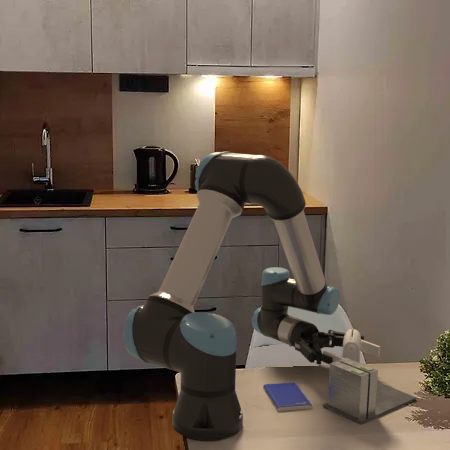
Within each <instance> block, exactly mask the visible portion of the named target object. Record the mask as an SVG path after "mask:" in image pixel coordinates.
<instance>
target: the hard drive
mask: <svg viewBox="0 0 450 450" xmlns="http://www.w3.org/2000/svg"><path fill="white" fill-rule="evenodd" d="M262 387H263V390H264V391H265V394H266V395H267V396H268V399H270V401H271V403H272V405H273V406H274V408H275V410H276V411H278V412H280V411H294V410H306V409H313V404H312V403H311V401H310V400H309V399H308V397H307V396H306V395H305V393H304V392H303V390H301V388H300V387H299V385H298V384H297V382H281V383H280V382H279V383H265V384H263V386H262Z"/></svg>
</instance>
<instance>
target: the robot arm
mask: <svg viewBox="0 0 450 450" xmlns="http://www.w3.org/2000/svg"><path fill="white" fill-rule="evenodd" d="M195 178H196V180H194V186H195V189H196V191H197V192H196V198H197V200H198V206H197V208H196V210H195V212H194V214H193V216H192V218H191V219H190V220H191V221H190V223H189V225H188V228H187V229H186V231H185V233H184V236H183V238H182V239H181V243H180V244H179V247H178V249H177V251H176V253H175V255H174V258H173V259H172V262H171V264H170V265H169V266H170V267H169V268H168V270H167V272H166V274H165V277H164V278H163V281H162V283H161V285H160V287H159V289H158V291H157V292H154V293H151V294H150V295H148V297H147V300H146V302H145V304H144V305H143V304H142V305H138V306H136V307H135V308H132V309H131V310H130V311H129V313H128V315H127V316H126V318H125V320H124V321H125V322H124V325H123V330H122V331H123V333H122V336H123V337H122V338H123V341H124V347H125V349H126V350H127V352H128V353H129V354H130V355H131V356H132V357H133V358H135V359H138V360H139V361H140V360H141V361H142V362H143V363H145V364H146V363H147V364H152V365H157V366H159V367H162V368H165V369H169V370H170V371H171V370H172V371H174V372H177V373H180V390H179V394H178V396H177V400H176V404H175V407H174V409H173V411H172V414H171V415H172V416H171V418H172V419H171V425H172V427H173V430H174V431H175V432H176V433H177V434H179V435H180V436H182V437H185V438H187V439H190V440H197V441H221V440H224V439H228V438H230V437H233V436H235V435H236V434H238V433H239V432H240V431H241V430H242V428H243V426H244V425H243V424H244V414H243V410H242V408H241V404H240V402H239V399H238V398H239V397H238V395H237V390H236V377H237V376H236V371H237V368H236V367H237V349H238V342H237V341H238V340H237V330H236V328H235V325H234V324H233V323H232V321H230V320H229V319H228V318H227V317H224V316H222V315H220V314H216V313H213V312H202V311H199V312H198V311H197V312H195V309H194V306H195V304H196V301H197V299H198V297H199V295H200V292H201V290H202V288H203V285H204V284H205V281H206V279H207V277H208V274H209V272H210V270H211V267H212V266H213V264H214V261H215V258H216V257H217V254H218V252H219V249H220V248H221V245H222V242H223V240H224V238H225V236H226V233H227V231H228V229H229V227H230V224H231V222H232V220H233V218H236V217H239V216H241V214H242V213H243V211H244V208H245V206H246V205H247V204H249V205H250V204H251V205H258V206H260V207H262V208H263V209H264V210H265V212H266V215H267V217H268V218H269V219H270V220H271V221H273V223H274V225H275V229H276V231H277V234H278V236H279V240H280V243H281V245H282V248H283V251H284V254H285V257H286V260H287V262H288V265H289V269H290V271H289V270H288V269H286V268H284V267H279V266H276V267H274V266H273V267H267V268H265V269H263V271H262V276H261V284H260V286H261V290H260V291H261V292H260V293H261V294H260V297H261V298H260V307H258V308H257V309H256V310H255V311H254V312H253V316H252V318H251V324H252V328H253V330H255V331H256V332H257V333H259V334H261V335H263V336H264V337H267V338H270V339H273V340H277V341H279V342H280V343H283V344H285V345H288V346H289V347H294V350H295V351H297V352H299V353H300V354H301V355H302V356H303V357H304V358H305V359H306V360H307V361H308V362H309V363H311V364H313V363H315V361H316V365H318V366H319V365H322V363H325V364H327V365H329V366H330V363H333V362H336V361H339V360H341V359H344V358H343V357H342V356H339V355H337V354H335V353H332V352H330V351H327V350H324V351H322V349H324V348H331V349H332V348H335V347H342V348H343V339H344V335H345V333H346V332H343V331H342V332H341V331H336V330H334V329H328V331H327V332H325V331H320V330H319V328H318V327H317V325H315V324H314V323H311V322H309V321H306V320H303V319H301V318H299V317H295V316H292V315H289V314H288V313H289V312H288V311H289V308H293V309H298V310H302V311H306V312H311V313H314V314H317V315H320V314H321V315H326V316H332V315H333V314H335V312H336V311H337V309H338V307H339V305H340V300H341V297H340V292H339V289H337V288H336V287H333V286H332V285H327V282H326V279H325V276H324V275H325V274H324V272H323V270H322V266H321V263H320V260H319V257H318V256H319V255H318V253H317V250H316V247H315V244H314V240H313V237H312V234H311V230H310V227H309V224H308V220H307V217H306V214H305V211H304V210H305V208H306V206H307V204H306V200H305V196H304V194H303V191H302V188H301V187H300V185H299V183H298V181H297V180H296V178H295V177H294V175H293V174H292V173H291V172H290V170H289V169H288V168H287V167H286V166H285V165H284V164H282V163H281V162H280V161H278V160H277V159H276V158H273V157H271V156H268V155H265V154H248V153H237V152H236V153H235V152H231V151H222V152H221V151H218V152H217V151H216V152H211V153H209V154H207V155H206V156H205V157H203V158H202V160H200V162H199V164H198V167H197V169H196V171H195ZM290 272H291V273H292V277H293V278H291V275H290ZM360 336H361V348H360V352H362V353H365V354H367V355H371V356H374V357H377V358H380V357H381V346H380V345H377V344H375V343H372V342H369V341H366V340H365V335H361V334H360ZM330 342H331V343H330Z"/></svg>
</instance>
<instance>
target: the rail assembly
mask: <svg viewBox="0 0 450 450" xmlns="http://www.w3.org/2000/svg"><path fill="white" fill-rule="evenodd" d="M328 371H329V374H328V375H329V376H328V394H327V395H328V397H327V402H325V403H323V404H322V407H323V408H325V409H327V410H329V411H332V412H334V413H336V414H337V415H340V416H342V417H344V418H346V419H348V420H351V421H353V422H354V423H356V424H359V425H363V424H365V423H368V422H370V421H371V420H373V419H376V418H378V417H379V418H380V417H381V416H382V415H385V414H387V413H390V412H392V411H395V410H397V409H399V408H402V407H403V406H406V405H408V404H410V403H413V402H415V401H417V396H414V395H412V394H409V393H406V392H404V391H402V390H399V389H397V388H394V387H391V386H390V385H387V384H385V383H382V382H379V381H378V375H379V373H378V372H379V370H378V369H376V368H373V367H371V366H370V365H365V364H364V363H361V362H360V363H359V362H356V361H353V360H351V359H348V358H344V359H341V360H339V361H336V362H333V363H330V365H329V370H328Z"/></svg>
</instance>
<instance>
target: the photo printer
mask: <svg viewBox="0 0 450 450" xmlns="http://www.w3.org/2000/svg"><path fill="white" fill-rule="evenodd" d="M344 333H345V335H344V339H343V347H342V356H341V357H343V358H348V359H351V360H353V361H356V362H359V363H361V362H360V361H361V351H360V348H361V336H360V335H361V333H360V331H358V330H357V329H356V328H355V329H352V328H350V329H348V330H347V331H346V332H344Z"/></svg>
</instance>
